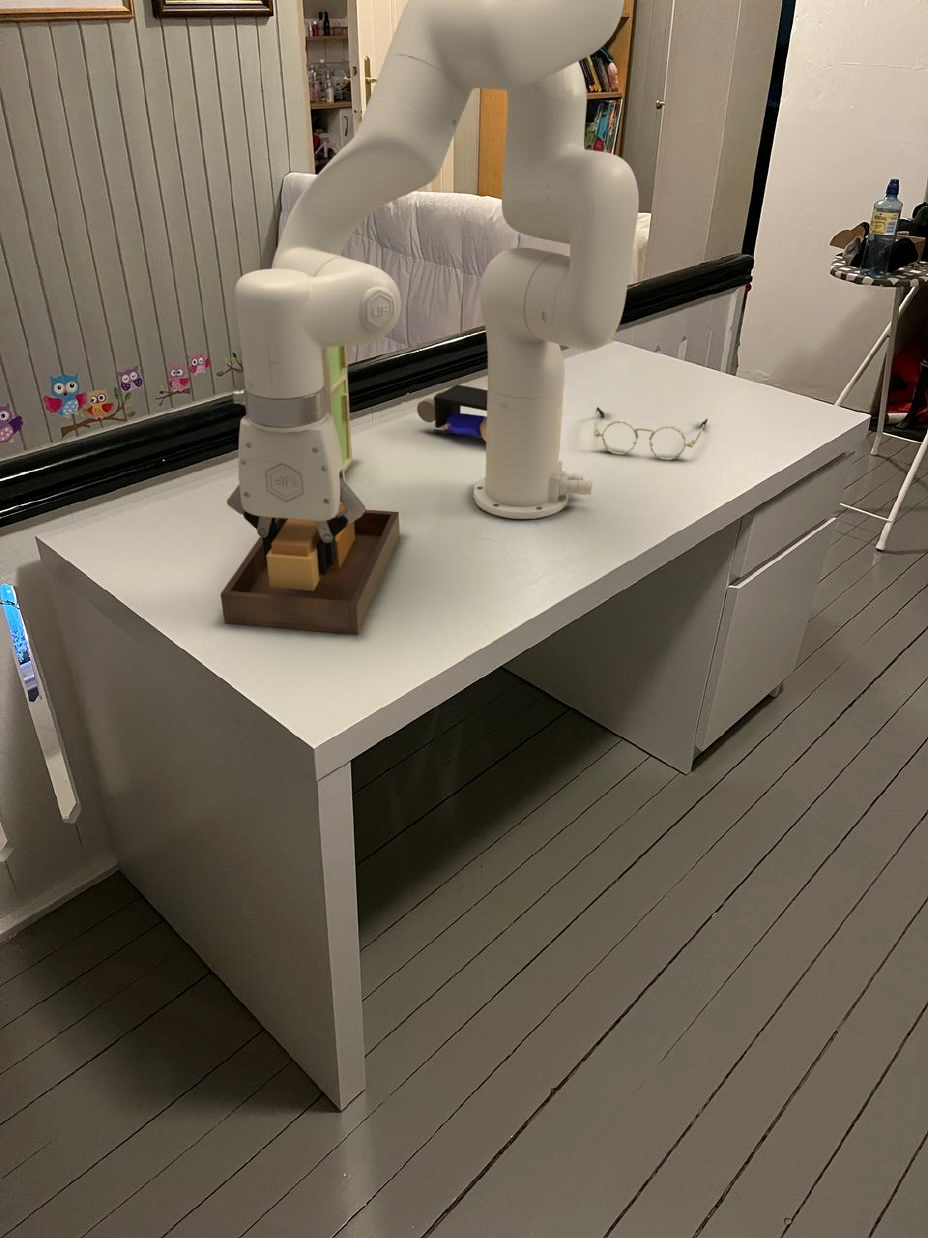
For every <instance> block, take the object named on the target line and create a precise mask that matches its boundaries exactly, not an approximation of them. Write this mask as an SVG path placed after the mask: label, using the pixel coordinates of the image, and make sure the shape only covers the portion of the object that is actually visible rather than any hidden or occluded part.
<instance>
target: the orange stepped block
mask: <svg viewBox="0 0 928 1238" xmlns="http://www.w3.org/2000/svg"><path fill="white" fill-rule="evenodd" d="M345 510H346V507H345V506H344V505H343V504H342V503H340V506H339V511H338V513H337V514H336V515H335V516H338V515H339V514H340V513H341V512H343V511H345ZM335 540H336V555H337V557H336V562H335V564H334V565H331V567H330V568H329V569H337V570H339V569H340V568H341V566H342V564H343V562H344V560H345V558H346V556H347V554H348V552H349V550H350V548H351V546H352V544H353V542H354V540H355V529H354V521H353V522H352V523H350V524H348V525H347V526H346V527H345V528H344V529H343V530H342V531H341V532H340V533H338V534H337V535H336V536H335Z"/></svg>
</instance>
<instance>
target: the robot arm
mask: <svg viewBox="0 0 928 1238" xmlns="http://www.w3.org/2000/svg"><path fill="white" fill-rule="evenodd" d="M624 3H625V0H407V2H406V4H405V6H404V8H403V11H402V13H401V15H400V17H399V21H398V23H397V25H396V29H395V31H394V34H393V36H392V39H391V41H390V43H389V44H390V45H389V46H388V50H387V52H386V55H385V58H384V59H383V60H384V61H383V64H382V66H381V68H380V71H379V74H378V77H377V79H376V82H375V84H374V87H373V90H372V92H371V95H370V97H369V100H368V102H367V105H366V107H365V108H366V109H365V110H364V113H363V116H362V118H361V121H360V123H359V126H358V128H357V130H356V132H355V134H354V136H353V137H352V138H351V139H350V140H349V142H348V143H347V144H346V145H344V147H342V149H340V150H339V151H338V152H337V153H336V154H335V155H334V156H333V157H332V158H331V159H330V160H329V162H328V163H326V165H325V166H323V168H322V169H321V170H320V171H319V173H317V175H316V176H315V177H314V178H313V179H312V181H310V182H309V184H308V185H307V186H306V188H305V189H304V190H303V191H302V193H301V194H300V196H299V197H298V198H297V200H296V202H295V204H294V205H293V207H292V209H291V211H290V213H289V215H288V218H287V220H286V224H285V226H284V228H283V231H282V234H281V237H280V239H279V242H278V244H277V248H276V250H275V254H274V257H273V260H272V265H271V268H265V269H258V270H254V271H250V272H248V273H245V274H244V275H242V276H241V277H240V278H239V279H238V280H237V281H236V284H235V287H234V300H235V301H234V302H235V309H236V318H237V326H238V335H239V346H240V351H241V363H242V369H243V379H244V380H243V381H244V388H241V389H234V390H233V392H232V400H233V403H234V404H238V405H239V404H240V405H241V406H244V408H245V415H244V416H243V417H242V418H241V419H240V423H239V432H238V481H239V484H238V485H237V486H236V487H235V489H234V490H233V492H232V493H231V494H230V495H229V497H228V498H227V500H226V504H227V505H228V507H230V508H231V509H232V510H234V511H235V512H236V513H238V514H239V515H242V516H243V518H244V519H245V520H246V521H247V522H248V523H249V524H250V525H251V526H252V527H253V528H254V529H256V534H257V535H258V536H259V538H260V537H262V539H263V548H264V556H265V559H267V554H268V553H269V551H270V550H271V548H272V542H273V540H274V539H275V538H276V536H277V535H278V533H279V532H280V530H281V529H282V528H280V525H277V523H276V520H277V518H285V519H297V520H311V521H315V523H316V526H317V528H318V531H319V534H320V538H319V540H318V542H317V552H318V564H319V573H320V574H321V575H326V574H327V572H328V570H329V568H330V567H331V565H334V564H335V562H336V557H337V555H336V540H335V536H336V535H337V534H338V533H340V532H341V531H342V530H343V529H344V528H345V527H346V526H347V525H348V524H350V523H352V522H353V521H355V520H357V519H358V518H360V517H361V516H362V515H363V513H364V511H365V509H366V506H365V504H364V503H363V502H362V501H361V499H360V498H359V497H358V496H357V495H356V493H355V492H354V491H353V490H352V488H351V487H350V486H349V485H348V484H347V482H346V476H345V473H344V467H343V461H342V454H341V449H340V444H339V440H338V435H337V431H336V428H335V424H334V421H333V418H332V415H331V414H328V413H326V405H325V390H324V375H323V361H322V350H323V349H324V348H326V347H338V346H347V347H355V346H356V347H357V346H364V345H369V344H373V343H375V342H377V341H380V340H381V339H383V338H384V337H386V336H387V335H388V334H389V333H391V331H392V330H393V329H394V327H395V326H396V324H397V323H398V321H399V318H400V315H401V310H402V297H401V293H400V289H399V288H398V286H397V283H396V282H395V280H394V279H393V278H392V277H391V276H390V275H389V274H388V273H387V272H385V270H382V269H381V268H379V267H377V266H376V265H375V266H374V265H373V264H369V263H366V262H364V261H363V262H362V261H359V260H355V259H351V258H349V257H346V256H342V254H343V251H344V250H345V247H346V246H347V244H348V241H349V240H350V239H351V236H352V235H353V233H354V232H355V231H356V229H357V228H358V227H359V226H360V224H361V223H362V222H363V221H365V219H367V217H369V216H370V215H371V214H372V213H374V212H375V211H377V210H378V209H380V208H382V207H383V206H385V205H387V204H389V203H391V202H394V201H396V200H398V199H400V198H403V197H405V196H408V195H409V194H412V193H414V192H416V191H418V190H420V189H421V188H423V187H425V186H427V185H429V184H431V183H433V181H435V179H436V178H437V177H438V175H440V172H441V169H442V167H443V164H444V161H445V159H446V156H447V154H448V151H449V148H450V146H451V143H452V140H453V138H454V135H455V134H456V131H457V129H458V126H459V123H460V120H461V118H462V115H463V113H464V110H465V108H466V105H467V103H468V101H469V99H470V95H471V93H472V91H473V90H474V89H484V90H495V91H496V90H497V91H506V97H507V109H506V110H507V113H506V114H507V116H506V132H505V133H506V134H505V143H504V156H503V157H504V158H503V169H502V183H501V212H502V213H501V214H502V216H503V219H504V221H505V223H506V224H507V226H508V227H510V228H511V229H512V230H514V231H516V232H517V233H519V234H523V235H525V236H528V237H533V238H536V239H542V240H546V241H551V242H556V243H561V244H565V245H569V256H568V255H565V254H562V253H557V252H552V251H548V250H543V249H539V248H538V249H537V248H533V247H512V248H508V249H506V250H503V251H501V252H500V253H498V254H497V255H495V256H494V257H493V258H492V259H491V260H490V262H489V263H488V264H487V266H486V268H485V270H484V272H483V275H482V278H481V283H480V306H481V312H482V317H483V318H482V319H483V322H484V323H483V324H484V328H485V335H486V345H487V347H486V348H487V349H486V350H487V389H486V390H487V411H486V416H487V438H486V441H485V442H486V445H485V446H486V447H485V477H484V478H482V479H480V480H479V481H478V482H476V484H475V486H474V487H473V500H474V502H475V504H476V505H477V506H478V507H479V508H481V510H483V511H485V512H487V513H489V514H491V515H494V516H496V517H497V516H498V517H502V518H507V519H514V520H515V519H516V520H532V519H540V518H541V519H542V518H544V517H549V516H551V515H554V514H557V513H558V512H560V511H562V510H563V509H564V508H565V507H566V506H567V504H568V501H569V494H577V495H579V496H592V485H593V480H591V479H590V480H589V479H584V473H567V471H566V470H562V468H563V461H562V460H560V449H561V434H562V419H563V404H564V391H565V378H566V377H565V375H566V373H565V372H566V370H565V362H564V357H563V356H564V355H563V353H562V350H561V347H560V346H564V347H567V348H571V349H573V350H574V349H575V350H580V351H594V350H598V349H600V348H602V347H603V346H605V345H606V344H607V343H608V342H610V340H611V339H612V338H613V336H614V335H615V334H616V331H617V330H618V327H619V325H620V323H621V319H622V317H623V314H624V313H623V312H624V309H625V303H626V299H627V291H628V286H629V279H630V273H631V272H630V271H631V265H632V259H633V252H634V244H635V239H636V232H637V225H638V217H639V208H640V207H639V206H640V199H639V198H640V197H639V188H638V183H637V179H636V176H635V174H634V171H633V169H632V167H631V166H630V165H629V164H628V163H627V162H626V161H625V160H624V158H622V157H620V156H618V155H616V154H614V153H611V152H605V151H600V150H591V149H585V129H586V128H585V127H586V117H587V116H586V115H587V105H588V104H587V103H588V99H587V98H588V96H587V87H586V81H585V77H584V73H583V70H582V67H581V65H580V61H581V60H584V59H585V58H587V57H590V56H591V55H593V54H594V53H596V52H598V51H599V50H600V49H601V48H602V47H603V46H604V45H606V44H607V42H608V41H609V40H610V39H611V37H613V35H614V33H615V31H616V29H617V27H618V25H619V23H620V21H621V18H622V15H623V10H624V6H625V5H624ZM340 504H343V505H344V506H345V507H346V510H345V511H343V512H341V513H340V514H339V515H338V516H335V515H336V514H337V513H338V511H339V506H340Z"/></svg>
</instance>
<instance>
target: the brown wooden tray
mask: <svg viewBox="0 0 928 1238" xmlns="http://www.w3.org/2000/svg"><path fill="white" fill-rule="evenodd" d="M287 520H288V519H285V518H277V520H276V523H277V525H280V528H282V527H283V526H284V524H285V523H286V521H287ZM354 529H355V540H354V542H353V544H352V546H351V548H350V550H349V552H348V554H347V556H346V558H345V560H344V562H343V564H342V566H341V568H340V569H339V570H337V569H329V570H328V572H327V574H326V575H322V577H321V578H320V580H319V582H318V584H317V586H316V588H315V589H314V591H310V590H299V589H288V588H277V587H270V583H269V574H268V565H267V559H265V556H264V548H263V539H262V537H260V536H259V537H258V539H257V541H256V542H255V543H254V545H253V546H252V547H251V549H250V550H249V552H248V554H247V555H246V556H245V557H244V559H243V561H242V562H241V563H240V565H239V567H238V568H237V569H236V571H235V572H234V574H233V576H232V577H231V578H230V580H229V581H228V582H227V584H226V585H225V587H224V588H223V590H222V591H221V593H219V594H220V601H221V602H220V603H221V608H222V613H223V620H224V623H225V624H235V625H245V626H258V627H268V628H280V629H291V630H293V629H294V630H302V631H312V632H313V631H314V632H324V633H325V632H326V633H334V634H335V633H336V634H346V635H359V634H360V632H361V629H362V627H363V624H364V622H365V620H366V618H367V615H368V613H369V610H370V608H371V606H372V603H373V601H374V599H375V596H376V595H377V592H378V589H379V587H380V585H381V582H382V580H383V578H384V576H385V573H386V571H387V568H388V566H389V564H390V561H391V559H392V558H393V555H394V552H395V550H396V547H397V545H398V543H399V540H400V538H401V534H400V533H401V532H400V531H401V529H400V512H399V511H393V510H391V511H390V510H379V509H367V508H365V511H364V513H363V515H362V516H361V517H360V518H358V519H357V520H355V521H354Z"/></svg>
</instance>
